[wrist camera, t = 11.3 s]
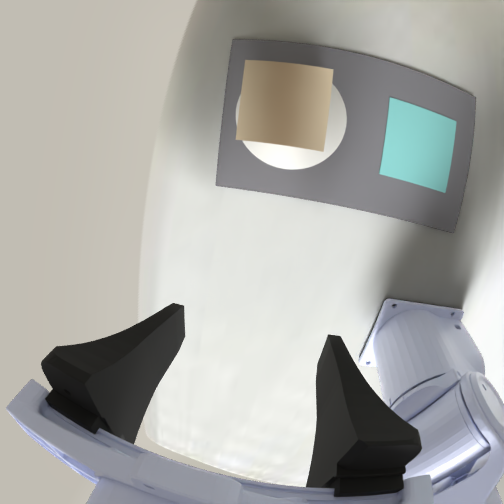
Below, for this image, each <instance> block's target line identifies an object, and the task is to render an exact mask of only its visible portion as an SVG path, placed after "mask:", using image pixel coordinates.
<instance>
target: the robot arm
mask: <svg viewBox="0 0 504 504" xmlns="http://www.w3.org/2000/svg"><path fill="white" fill-rule="evenodd" d="M393 304H396V305H395V306H392V305H393ZM451 313H453V314H451ZM463 314H464V312H463V310H462V309H457V308H450V307H443V306H436V305H429V304H422V303H415V302H409V301H402V300H396V299H387V300H385V301H384V303H383V306H382V308H381V311H380V313H379V316H378V318H377V321H376V323H375V325H374V328H373V330H372V332H371V335H370V337H369V339H368V341H367V344H366V346H365V348H364V350H363V352H362V354H361V356H360V359H359V364H360V365H362V366H373V367H377V370H378V375H379V380H380V386H381V391H382V397H383V401H382V400H381V399H380V397H379V396H378V395H377V394H376V393H375V392H374V390H373V389H372V388H371V387H370V385H369V384H368V383H367V381H366V380H365V378H364V377H363V375H362V374H361V372H360V371H359V369H358V368H357V366H356V364H355V362H354V361H353V359H352V357H351V355H350V353H349V352H348V350H347V348H346V346H345V344H344V342H343V340H342V338H341V337H340V336H335V335H328V337H327V340H326V342H325V345H324V348H323V351H322V353H321V356H320V359H319V361H318V364H317V375H316V404H317V424H316V434H315V442H314V448H313V455H312V461H311V466H310V471H309V476H308V480H307V484H306V487H296V486H286V485H277V484H269V483H263V482H256V481H251V480H246V479H241V478H236V477H231V476H226V475H222V474H218V473H214V472H210V471H207V470H203V469H200V468H196V467H193V466H190V465H186V464H183V463H180V462H177V461H174V460H171V459H168V458H166V457H163V456H160V455H158V454H155V453H153V452H150V451H148V450H145V449H143V448H140V447H138V446H136V445H134V442H135V439H136V436H137V433H138V430H139V428H140V425H141V422H142V420H143V417H144V414H145V412H146V410H147V407H148V405H149V403H150V400H151V398H152V396H153V394H154V392H155V389H156V388H157V386H158V384H159V382H160V381H161V379H162V377H163V376H164V374H165V372H166V371H167V369H168V368H169V366H170V365H171V363H172V361H173V360H174V358H175V356H176V355H177V353H178V351H179V349H180V347H181V345H182V342H183V340H184V338H185V322H184V306H183V305H179V304H175V303H172V304H171V305H169V306H167V307H165V308H164V309H162V310H161V311H159V312H157V313H156V314H154V315H152V316H150V317H149V318H147V319H145V320H144V321H142V322H140V323H138V324H136V325H134V326H132V327H130V328H128V329H126V330H124V331H121V332H119V333H116V334H114V335H111V336H108V337H105V338H102V339H99V340H95V341H91V342H87V343H82V344H76V345H67V346H57V347H55V348H54V349H53V350H52V351H51V352H50V353H49V354H48V355H47V356H46V357H45V358H44V359H43V360H42V362H41V366H42V369H43V372H44V374H45V376H46V378H47V380H48V381H49V383H50V385H51V386H52V388H53V390H52V391H51V392H50V393H49V391H48V390H47V389H45V388H44V387H43V386H41V385H40V384H39V383H37V382H36V381H35V380H33V379H31V380H30V381H29V382H28V383H27V384H26V385H25V386H24V387H23V389H22V390H21V391H20V392H19V393H18V394H17V395H16V397H15V398H14V399H13V400H12V401H11V402H10V404H9V405H8V406H7V407H6V409H7V411H8V412H9V413H10V414H11V416H12V417H13V418H14V419H15V420H16V422H17V423H18V424H19V425H20V426H21V427H22V429H23V430H24V431H25V432H26V433H27V434H28V435H29V436H30V437H31V438H33V439H34V440H35V441H36V442H37V443H38V444H40V445H41V446H42V447H44V448H45V449H46V450H47V451H49V452H50V453H51V454H52V455H54V456H55V457H56V458H58V459H59V460H60V461H62V462H63V463H64V464H66V465H67V466H69V467H70V468H71V469H73V470H75V471H76V472H77V473H79V474H80V475H82V476H83V477H85V478H86V479H88V480H90V481H92V482H93V483H95V484H96V487H95V489H94V490H93V492H92V494H91V496H90V497H89V499H88V501H87V503H86V504H503V503H502V500H501V498H500V495H499V493H498V490H497V488H496V485H497V484H498V482H499V481H500V479H501V477H502V476H503V474H504V404H503V402H502V400H501V398H500V396H499V394H498V393H497V391H496V389H495V388H494V387H493V385H492V384H491V383H490V381H489V380H488V379H487V378H486V377H485V365H484V360H483V357H482V355H481V353H480V351H479V349H478V348H477V346H476V344H475V343H474V341H473V339H472V338H471V336H470V334H469V333H468V331H467V330H466V328H465V326H464V325H463V323H462V322H461V319H462V317H463ZM367 361H369V362H367Z"/></svg>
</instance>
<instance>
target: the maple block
mask: <svg viewBox="0 0 504 504" xmlns="http://www.w3.org/2000/svg"><path fill="white" fill-rule="evenodd" d="M332 80H333V69H328V68H322V67H316V66H309V65H302V64H294V63H285V62H274V61H260V60H245V66H244V74H243V82H242V90H241V98H240V106H239V115H238V123H237V132H236V140H243V141H253V142H262V143H270V144H277V145H285V146H291V147H298V148H304V149H310V150H316V151H321V152H324V145H325V138H326V131H327V123H328V115H329V107H330V99H331V89H332Z"/></svg>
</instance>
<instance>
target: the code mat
mask: <svg viewBox="0 0 504 504" xmlns="http://www.w3.org/2000/svg"><path fill="white" fill-rule="evenodd" d="M245 60H260V61H274V62H285V63H294V64H302V65H309V66H316V67H322V68H328V69H333V80H332V89H331V99H330V107H329V115H328V123H327V131H326V138H325V145H324V152H321V151H316V150H310V149H304V148H298V147H291V146H285V145H277V144H270V143H262V142H253V141H243V140H236V132H237V123H238V115H239V106H240V98H241V90H242V82H243V74H244V66H245ZM475 110H476V97H474V96H472V95H471V94H469V93H467V92H465V91H463V90H461V89H458V88H456V87H454V86H452V85H450V84H448V83H445V82H443V81H441V80H438V79H436V78H434V77H431V76H429V75H426V74H424V73H421V72H418V71H416V70H413V69H410V68H407V67H404V66H401V65H398V64H395V63H392V62H388V61H385V60H382V59H378V58H374V57H371V56H367V55H363V54H359V53H354V52H350V51H345V50H340V49H335V48H329V47H324V46H317V45H311V44H303V43H294V42H284V41H272V40H249V39H233V40H232V47H231V54H230V61H229V68H228V75H227V83H226V91H225V99H224V107H223V116H222V125H221V134H220V144H219V154H218V164H217V175H216V186H221V187H228V188H236V189H243V190H250V191H257V192H263V193H270V194H276V195H282V196H288V197H294V198H300V199H306V200H311V201H317V202H322V203H327V204H332V205H338V206H343V207H347V208H352V209H357V210H362V211H366V212H371V213H375V214H380V215H384V216H389V217H393V218H397V219H401V220H405V221H409V222H413V223H417V224H421V225H425V226H429V227H433V228H436V229H440V230H444V231H447V232H451V233H454V231H455V227H456V224H457V220H458V216H459V213H460V209H461V204H462V200H463V196H464V191H465V187H466V182H467V176H468V171H469V165H470V159H471V152H472V144H473V135H474V125H475Z"/></svg>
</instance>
